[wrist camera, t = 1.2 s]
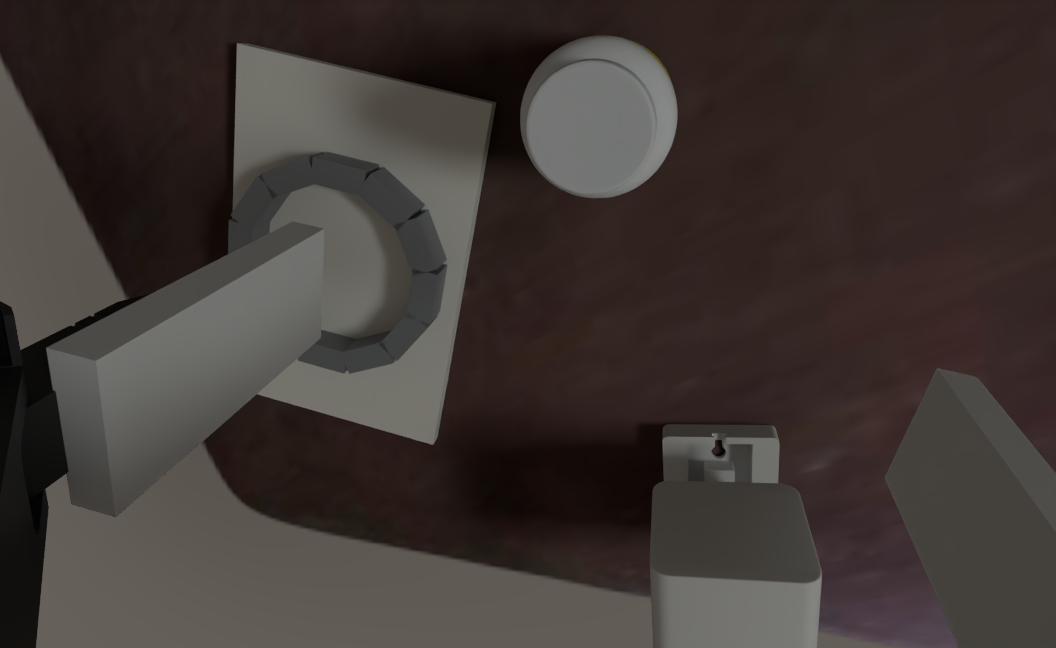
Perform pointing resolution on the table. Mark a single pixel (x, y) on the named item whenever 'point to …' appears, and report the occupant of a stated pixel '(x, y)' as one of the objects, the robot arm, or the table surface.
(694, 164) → the table surface
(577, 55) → the supplement bottle
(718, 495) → the security camera
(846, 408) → the table surface
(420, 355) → the socket board
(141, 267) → the table surface
